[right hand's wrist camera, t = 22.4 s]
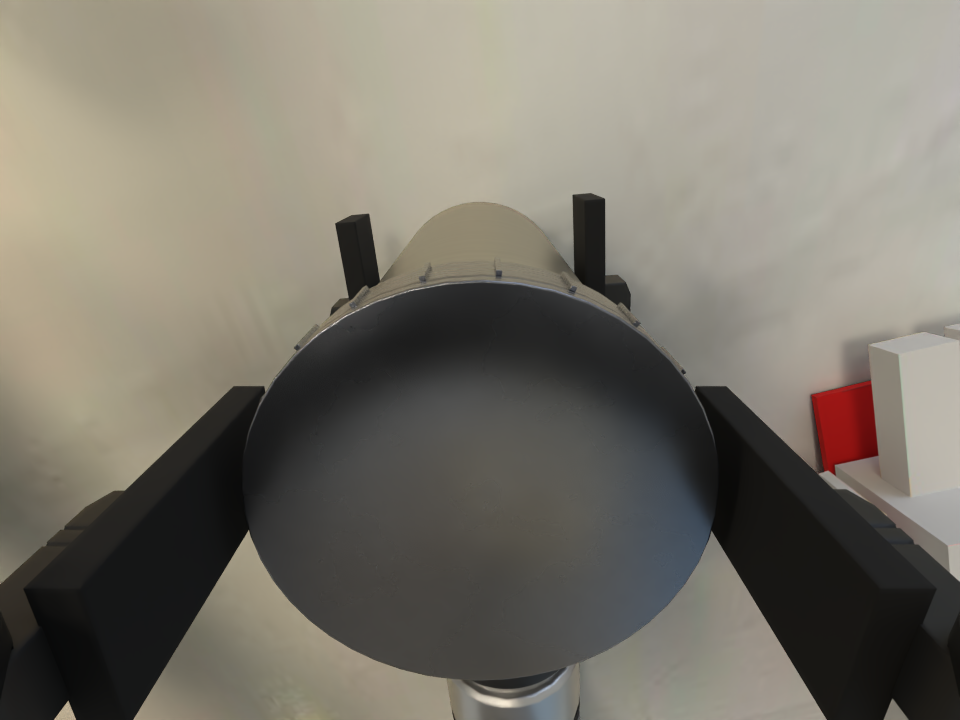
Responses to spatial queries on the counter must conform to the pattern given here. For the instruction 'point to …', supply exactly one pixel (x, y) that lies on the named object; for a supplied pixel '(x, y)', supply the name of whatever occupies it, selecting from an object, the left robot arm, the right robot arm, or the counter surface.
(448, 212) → the jar
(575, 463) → the lid
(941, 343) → the toy
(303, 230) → the counter surface
